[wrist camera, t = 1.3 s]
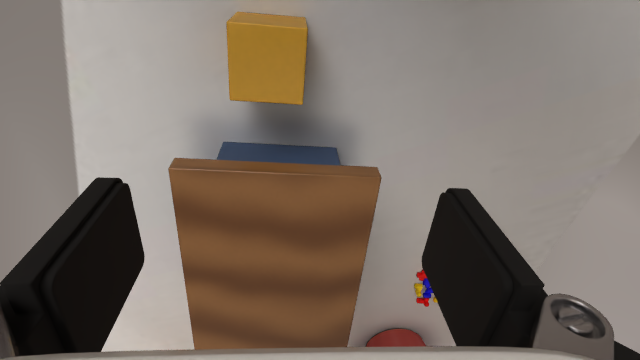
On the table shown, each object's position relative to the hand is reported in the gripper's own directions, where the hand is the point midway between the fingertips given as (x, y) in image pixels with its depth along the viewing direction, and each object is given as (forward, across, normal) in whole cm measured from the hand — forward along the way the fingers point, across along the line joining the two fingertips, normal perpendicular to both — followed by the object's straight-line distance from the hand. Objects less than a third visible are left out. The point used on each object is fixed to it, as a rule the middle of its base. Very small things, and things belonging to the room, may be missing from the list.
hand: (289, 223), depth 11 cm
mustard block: (+20, +2, -1) cm, 20 cm away
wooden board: (+14, +1, +15) cm, 20 cm away
